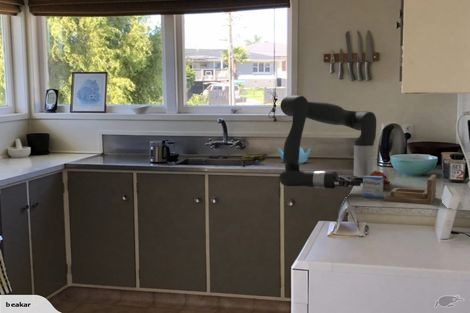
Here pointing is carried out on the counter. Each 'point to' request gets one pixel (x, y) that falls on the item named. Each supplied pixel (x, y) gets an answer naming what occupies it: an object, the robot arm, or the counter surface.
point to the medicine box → (373, 186)
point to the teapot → (301, 155)
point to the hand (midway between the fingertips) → (363, 181)
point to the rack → (414, 193)
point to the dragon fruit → (378, 173)
